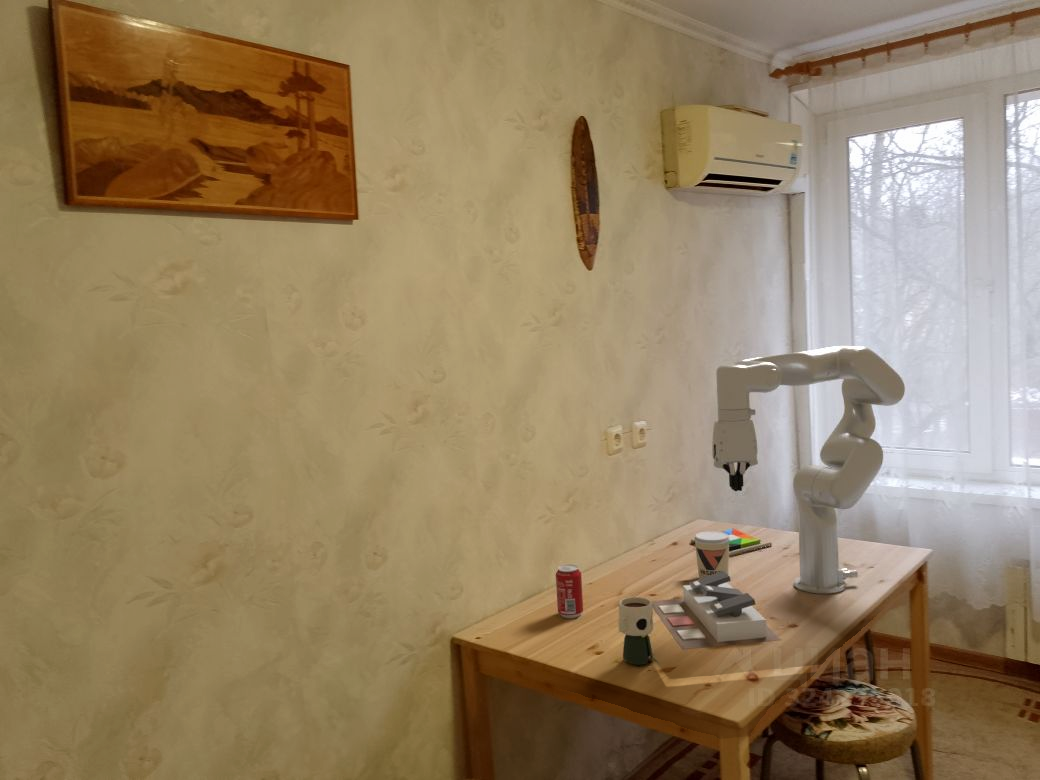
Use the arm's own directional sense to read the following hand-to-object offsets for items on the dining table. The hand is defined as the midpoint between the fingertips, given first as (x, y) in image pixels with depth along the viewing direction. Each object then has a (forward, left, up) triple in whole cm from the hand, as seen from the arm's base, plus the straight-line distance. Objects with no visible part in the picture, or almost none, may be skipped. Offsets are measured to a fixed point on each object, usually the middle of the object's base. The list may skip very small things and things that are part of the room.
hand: (736, 489), depth 201 cm
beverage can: (+42, -4, -29) cm, 51 cm away
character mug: (+32, +26, -29) cm, 51 cm away
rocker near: (+8, +18, -24) cm, 31 cm away
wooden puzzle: (-15, -50, -30) cm, 60 cm away
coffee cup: (0, -21, -29) cm, 36 cm away
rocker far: (+8, +2, -24) cm, 25 cm away
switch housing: (+8, +10, -28) cm, 31 cm away
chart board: (+11, +10, -29) cm, 33 cm away
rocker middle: (+8, +10, -24) cm, 27 cm away
